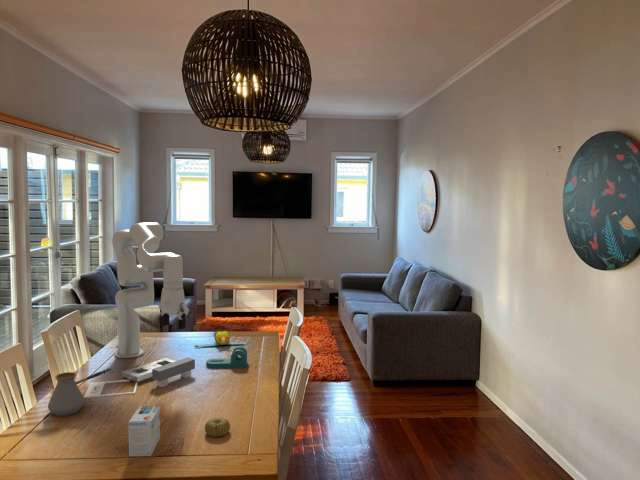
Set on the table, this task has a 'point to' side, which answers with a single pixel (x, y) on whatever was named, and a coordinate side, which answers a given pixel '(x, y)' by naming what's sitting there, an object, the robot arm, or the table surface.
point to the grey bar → (173, 370)
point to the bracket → (230, 360)
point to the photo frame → (97, 388)
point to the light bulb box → (144, 431)
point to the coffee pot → (68, 394)
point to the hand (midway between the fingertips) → (173, 326)
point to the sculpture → (217, 427)
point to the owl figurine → (222, 339)
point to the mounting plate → (144, 371)
